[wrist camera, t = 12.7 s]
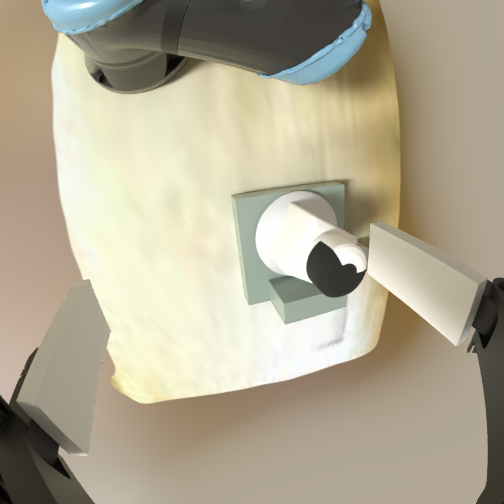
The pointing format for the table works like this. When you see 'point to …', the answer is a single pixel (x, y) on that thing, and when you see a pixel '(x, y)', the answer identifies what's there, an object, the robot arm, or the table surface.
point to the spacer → (366, 251)
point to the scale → (260, 234)
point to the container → (317, 252)
